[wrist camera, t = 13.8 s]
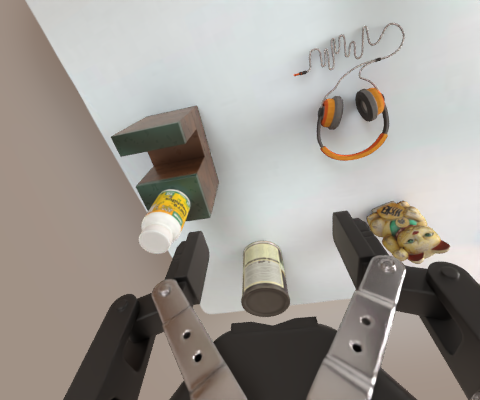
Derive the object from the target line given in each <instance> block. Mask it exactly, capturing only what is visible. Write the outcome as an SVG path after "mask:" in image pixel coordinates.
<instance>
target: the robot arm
mask: <svg viewBox="0 0 480 400" xmlns="http://www.w3.org/2000/svg"><path fill="white" fill-rule="evenodd" d="M333 239H334V242H335V245H336V247H337V249H338V251H339V253H340V256H341V258H342V260H343V262H344V264H345V266H346V269H347V271H348V273H349V275H350V277H351V279H352V281H353V284H354V286H355V288H356V290H355V292H354V294H353V296H352V298H351V301H350V303H349V305H348V308H347V310H346V312H345V315H344V317H343V319H342V322H341V324H340V326H339V329H338V331H337V330H335V329H333V328H331V327H329V326H326V325H322V324H318V323H317V319H316V317H305V318H294V319H291V320H289V321H286V322H283V323H280V324H277V325H274V326H271V325H266V324H260V323H255V322H246V323H245V322H244V323H232V324H231V331H229V332H227V333H225V334H223V335H221V336H220V337H219V338H217V339H216V340H215V341H214V342H213V341H212V340H211V338H210V336H209V335H208V333H207V331H206V329H205V328H204V326H203V324H202V323H201V322H200V319H199V318H198V316H197V314H196V313H195V311H194V309H193V305H195V304H200V301H201V296H202V291H203V286H204V282H205V277H206V272H207V267H208V262H209V249H208V246H207V243H206V241H205V238H204V235H203V233H202V231H197V232H190V233H189V234H188V237H187V240H186V241H182V242H181V244H180V245H179V246H178V247H177V249H176V251H175V254H174V257H173V259H172V262H171V265H170V267H169V270H168V272H167V275H166V277H165V280H164V281H162V282H160V283H159V284H157V285H156V286H155V288H154V289H153V291H152V293H150V294H148V295H146V296H143V297H140V298H138V299H137V298H136V297H135V296H134V295H132V294H126V295H123V296H121V297H120V298H118V299H117V300H116V301H115V302H114V303H113V304H112V305H111V307H110V308H109V310H108V312H107V314H106V316H105V318H104V320H103V322H102V324H101V326H100V328H99V330H98V332H97V334H96V336H95V338H94V340H93V342H92V344H91V346H90V348H89V350H88V352H87V354H86V356H85V358H84V360H83V362H82V364H81V366H80V368H79V370H78V372H77V374H76V376H75V378H74V380H73V382H72V384H71V386H70V388H69V389H68V392H67V393H66V395H65V397H64V399H63V400H138V396H139V393H140V389H141V386H142V382H143V378H144V375H145V372H146V368H147V365H148V361H149V358H150V354H151V351H152V347H153V344H154V340H155V336H156V335H157V334H160V333H162V332H164V333H165V335H166V337H167V340H168V342H169V345H170V347H171V350H172V352H173V354H174V357H175V359H176V362H177V364H178V367H179V369H180V371H181V374H182V376H183V379H184V381H183V383H182V384H181V385H180V386H179V388H178V389H177V390H176V392H175V393H174V394H173V396H172V397H171V398H170V400H417V399H416V398H415V397H414V396H412V395H411V394H410V393H409V392H408V391H407V390H406V389H404V388H403V387H402V386H401V385H400V384H399V383H397V381H395V380H394V379H393V378H392V377H391V376H390V375H389V374H387V373H386V372H385V371H384V370H383V369H382V368H381V365H382V361H383V358H384V354H385V350H386V346H387V342H388V338H389V334H390V331H391V327H392V323H393V320H394V316H395V312H396V311H400V312H405V313H410V314H415V315H419V316H420V318H421V320H422V321H423V323H424V325H425V327H426V328H427V330H428V332H429V333H430V335H431V337H432V338H433V340H434V342H435V344H436V345H437V347H438V349H439V350H440V352H441V354H442V356H443V357H444V359H445V361H446V362H447V364H448V366H449V367H450V369H451V371H452V373H453V374H454V376H455V378H456V379H457V381H458V383H459V385H460V386H461V388H462V390H463V391H464V393H465V395H466V397H467V398H468V400H480V285H479V284H478V283H477V282H476V281H475V280H474V279H473V278H472V277H471V276H470V274H469V273H468V272H467V271H465V270H464V269H463V268H461V267H459V266H457V265H455V264H452V263H448V262H434V263H432V264H430V265H429V267H428V269H423V268H416V267H409V266H405V265H404V264H403V263H402V262H401V261H400V260H398V259H396V258H394V257H392V256H389V255H388V253H387V252H386V250H385V249H384V248H383V246H382V245H381V243H380V242H379V240H378V239H377V238H376V236H374V233H373V232H372V231H371V229H370V228H369V226H368V225H367V224H366V223H365V222H364V221H362V220H361V219H359V218H354V219H352V217H351V216H350V214H349V213H348V211H341V212H334V213H333Z"/></svg>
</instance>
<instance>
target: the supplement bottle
mask: <svg viewBox="0 0 480 400" xmlns="http://www.w3.org/2000/svg"><path fill="white" fill-rule="evenodd" d="M189 210H190V201H189V199H188V197H187V196H186V195H185V194H184V193H182V192H181V191H178V190H173V189H168V190H164V191H163V192H161V193H160V194H159V195H158V197H157V199H156V200H155V202H154V203H153V205H152V206H151V208H150V209H149V211H148V213H147V214H146V216H145V217H144V219H143V221H142V225H141V227H142V233H141V234H140V236H139V243H140V245H141V246H142V248H143V249H145V250H146V251H148V252H150V253H155V254H161V253H164V252H166V251H167V250H168V249H169V248H170V246H171V244H172V242H174V241H176V240H177V239H178V237H179V236H180V233H181V231H182V228H183V226H184V223H185V220H186V218H187V215H188V212H189Z"/></svg>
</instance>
